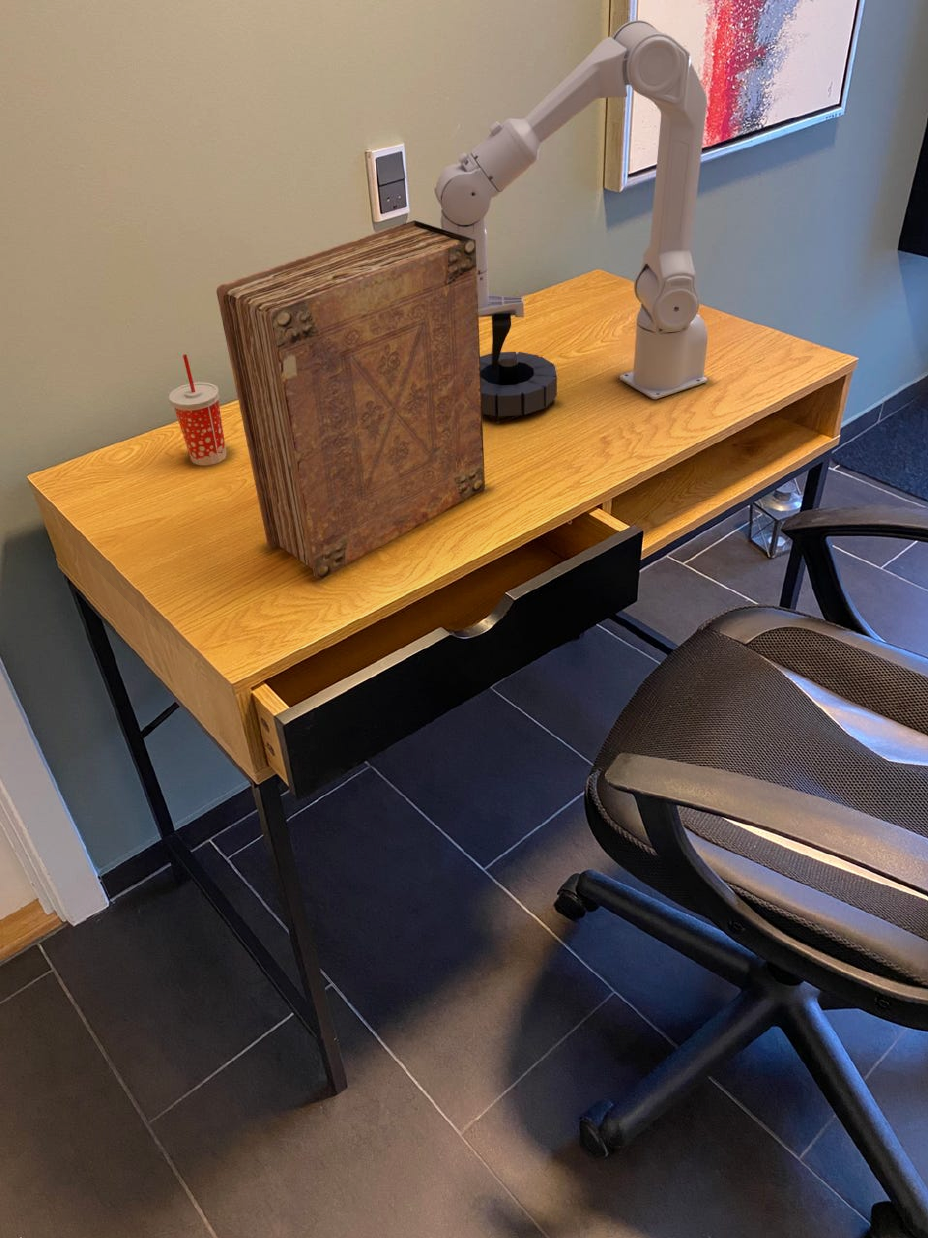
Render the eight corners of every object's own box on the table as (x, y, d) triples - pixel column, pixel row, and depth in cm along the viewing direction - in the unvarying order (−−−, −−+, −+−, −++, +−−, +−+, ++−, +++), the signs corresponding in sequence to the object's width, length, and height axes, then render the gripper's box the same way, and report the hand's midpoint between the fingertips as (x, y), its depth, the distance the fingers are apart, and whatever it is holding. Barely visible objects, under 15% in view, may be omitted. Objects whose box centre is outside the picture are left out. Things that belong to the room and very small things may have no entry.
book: (315, 582, 107) (267, 312, 88) (267, 547, 113) (212, 287, 94) (486, 489, 120) (476, 236, 101) (435, 462, 125) (417, 217, 106)
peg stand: (519, 380, 142) (518, 342, 138) (554, 404, 136) (554, 365, 132) (464, 397, 139) (462, 359, 135) (498, 422, 133) (497, 383, 129)
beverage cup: (215, 439, 133) (192, 340, 124) (242, 455, 129) (220, 353, 120) (176, 457, 130) (149, 356, 121) (202, 473, 126) (176, 371, 117)
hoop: (521, 363, 143) (521, 343, 142) (575, 397, 134) (575, 377, 133) (442, 388, 139) (440, 368, 137) (492, 425, 130) (491, 404, 128)
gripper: (406, 282, 123) (415, 384, 131) (524, 277, 122) (525, 379, 131) (409, 262, 128) (417, 361, 137) (521, 257, 128) (522, 356, 136)
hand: (470, 368), depth 134 cm, fingers open, 6 cm apart
